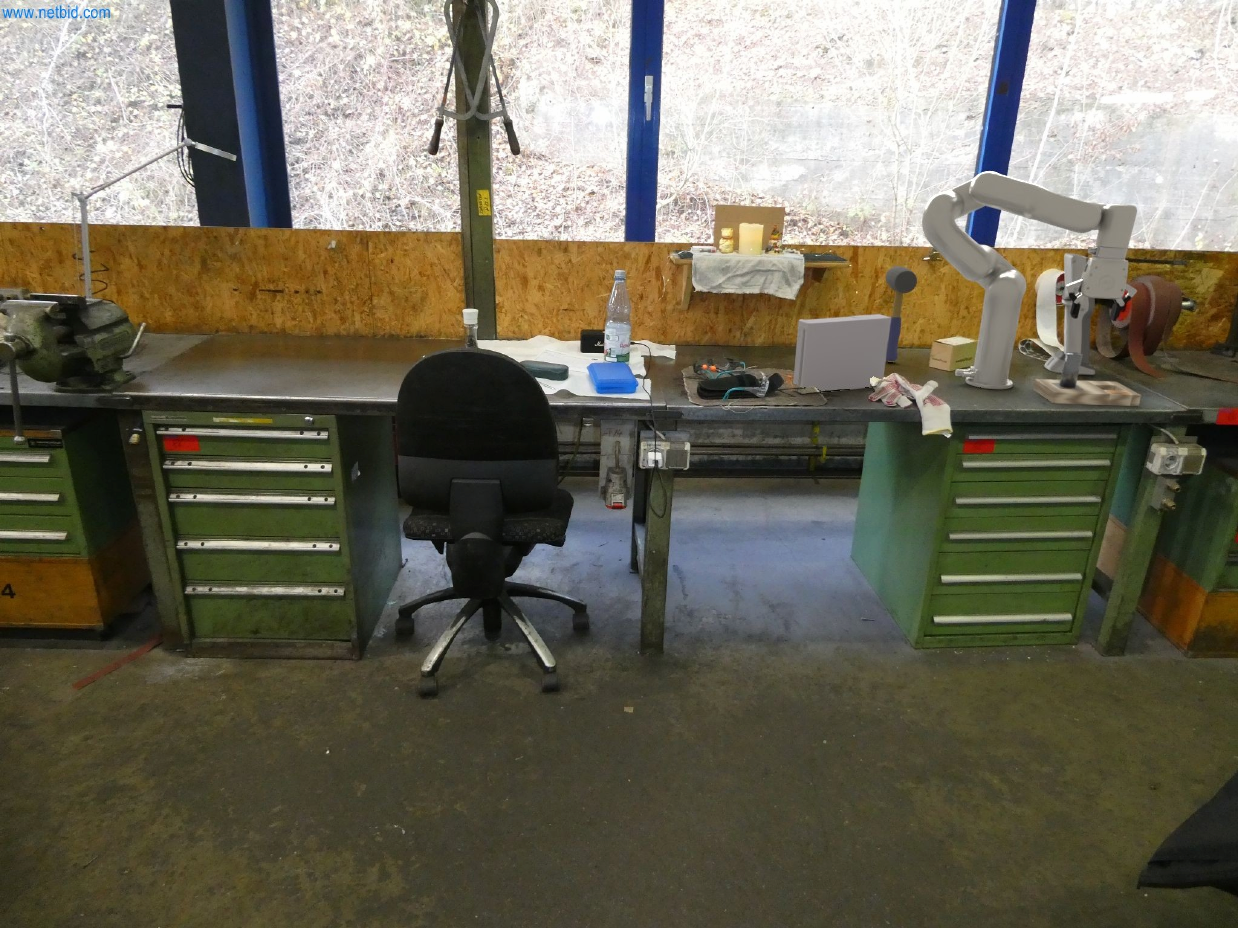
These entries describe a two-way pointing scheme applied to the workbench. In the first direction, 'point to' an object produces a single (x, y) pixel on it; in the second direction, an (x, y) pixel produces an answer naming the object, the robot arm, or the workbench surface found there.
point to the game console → (841, 351)
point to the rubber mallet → (898, 304)
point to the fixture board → (1087, 393)
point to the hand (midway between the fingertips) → (1093, 319)
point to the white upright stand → (1075, 320)
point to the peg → (1070, 369)
